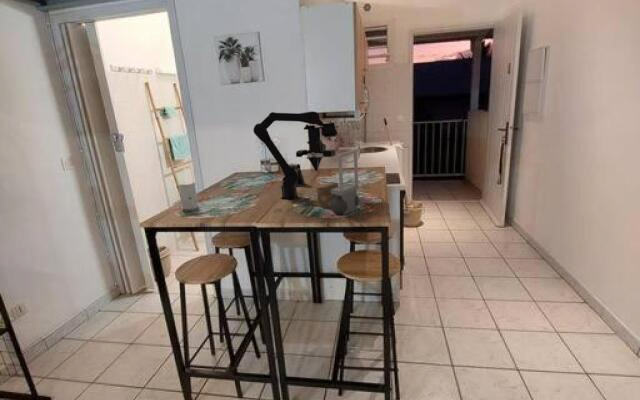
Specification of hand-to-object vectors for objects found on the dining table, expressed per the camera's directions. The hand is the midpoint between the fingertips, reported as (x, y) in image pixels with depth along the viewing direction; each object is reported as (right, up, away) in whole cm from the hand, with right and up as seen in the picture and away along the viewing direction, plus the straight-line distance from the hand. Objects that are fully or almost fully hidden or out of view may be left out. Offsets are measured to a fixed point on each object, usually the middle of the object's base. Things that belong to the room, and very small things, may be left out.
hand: (316, 170), depth 168 cm
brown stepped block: (+6, -16, -15) cm, 23 cm away
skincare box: (-60, -18, -5) cm, 63 cm away
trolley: (+12, -19, -25) cm, 34 cm away
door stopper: (-12, -6, +27) cm, 30 cm away
